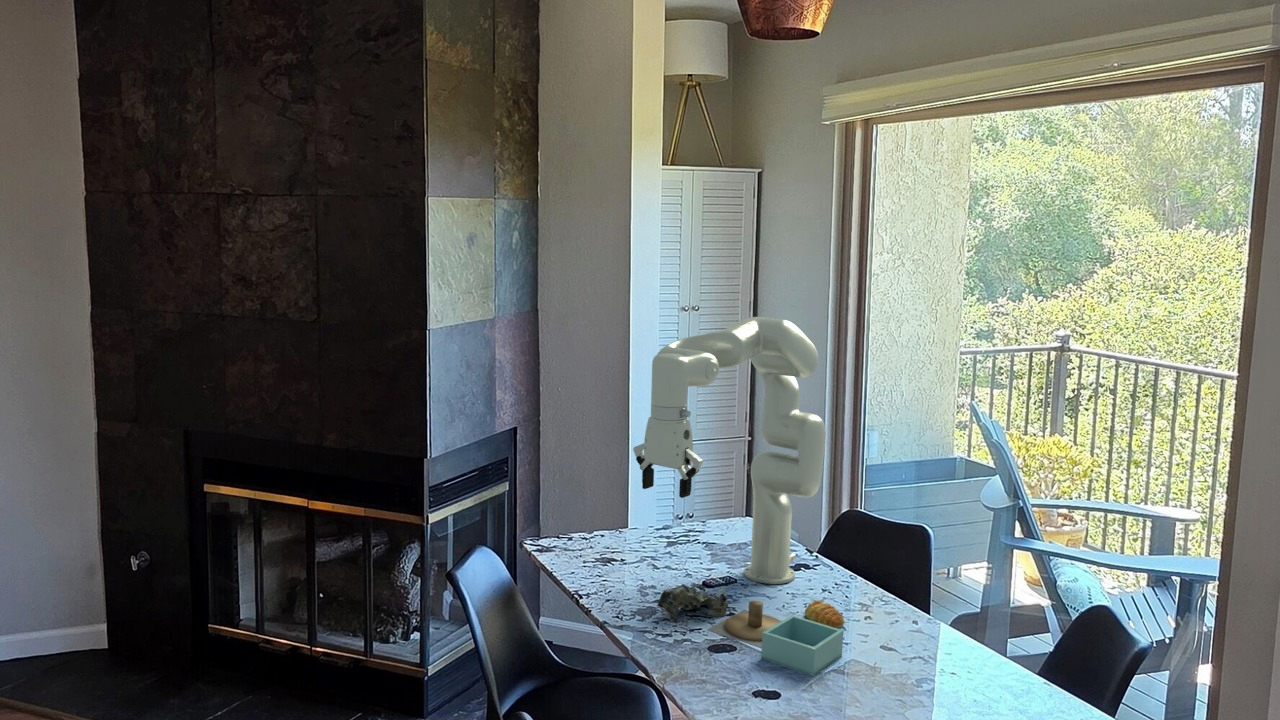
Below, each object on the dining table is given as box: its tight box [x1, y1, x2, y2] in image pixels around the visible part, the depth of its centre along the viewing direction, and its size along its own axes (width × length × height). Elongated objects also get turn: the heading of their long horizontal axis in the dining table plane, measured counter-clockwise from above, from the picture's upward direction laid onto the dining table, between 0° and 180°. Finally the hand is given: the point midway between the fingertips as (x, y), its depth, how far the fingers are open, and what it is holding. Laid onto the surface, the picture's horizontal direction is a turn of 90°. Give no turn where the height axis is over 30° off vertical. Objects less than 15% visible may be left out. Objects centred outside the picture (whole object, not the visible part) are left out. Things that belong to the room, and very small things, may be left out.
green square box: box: [760, 614, 844, 677], centre depth 211 cm, size 12×12×6 cm
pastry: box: [804, 600, 846, 629], centre depth 230 cm, size 9×7×4 cm
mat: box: [706, 609, 762, 649], centre depth 225 cm, size 15×15×1 cm
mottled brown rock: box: [657, 583, 729, 623], centre depth 232 cm, size 12×11×15 cm
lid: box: [725, 600, 782, 641], centre depth 224 cm, size 13×13×6 cm
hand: (666, 492), depth 218 cm, fingers open, 9 cm apart
